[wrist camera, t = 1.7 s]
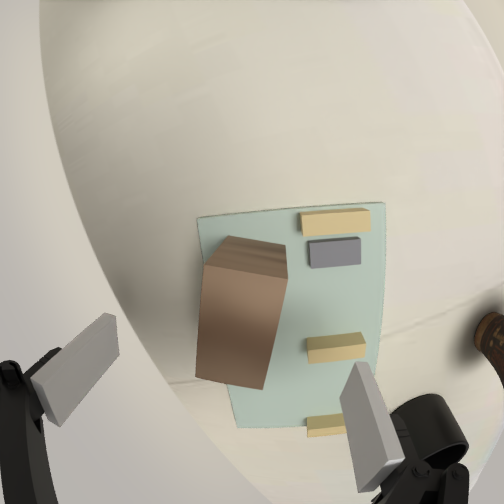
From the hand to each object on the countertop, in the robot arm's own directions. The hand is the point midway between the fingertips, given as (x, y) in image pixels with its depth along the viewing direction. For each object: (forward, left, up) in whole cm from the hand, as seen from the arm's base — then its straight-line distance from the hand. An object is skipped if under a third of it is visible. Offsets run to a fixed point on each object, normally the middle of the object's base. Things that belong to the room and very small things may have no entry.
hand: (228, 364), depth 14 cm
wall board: (+6, +4, -11) cm, 13 cm away
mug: (+23, +20, -11) cm, 32 cm away
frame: (0, 0, -10) cm, 10 cm away
